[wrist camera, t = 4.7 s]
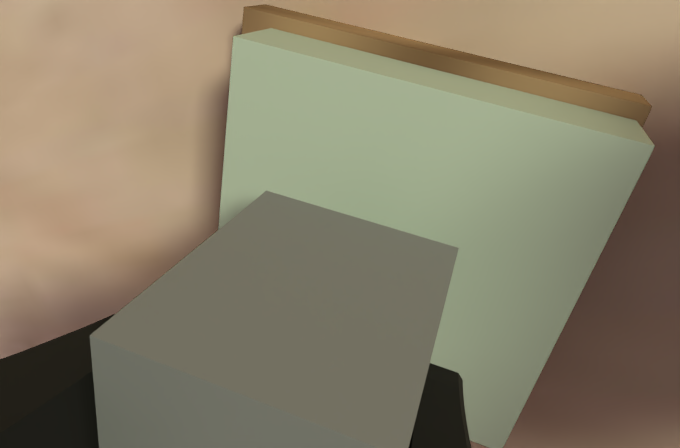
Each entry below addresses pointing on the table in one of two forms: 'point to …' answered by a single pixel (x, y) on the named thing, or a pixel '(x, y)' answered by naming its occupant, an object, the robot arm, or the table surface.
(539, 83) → the walnut slab
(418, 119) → the grey-green slab
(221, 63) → the table surface
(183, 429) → the grey block
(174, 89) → the table surface
